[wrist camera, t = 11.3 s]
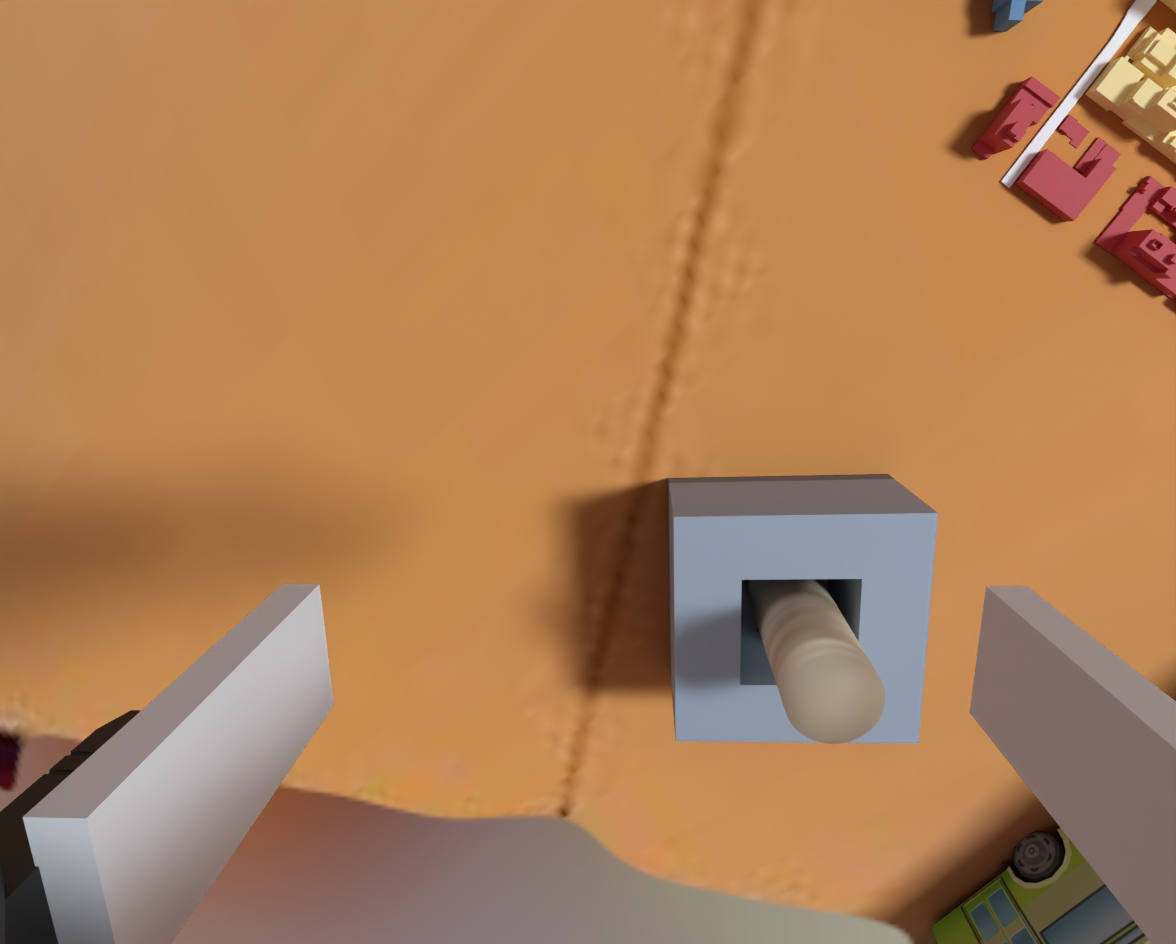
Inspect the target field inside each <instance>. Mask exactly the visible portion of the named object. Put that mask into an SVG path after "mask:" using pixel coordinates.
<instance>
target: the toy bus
mask: <svg viewBox="0 0 1176 944" xmlns="http://www.w3.org/2000/svg"><path fill="white" fill-rule="evenodd" d="M1057 831H1058V833H1059V834H1060V836H1061V837H1062V839H1063V842H1064V845H1062V844H1061V843H1060V842H1059V841H1058V840H1057V839H1055V838H1054V837H1053V836H1052V835H1051V834H1047V833H1043V832H1039V831H1035V832H1033V833H1032V834H1030V835H1028V836H1026V837H1025V838H1023V839H1022V840H1021V841H1020V842H1019V843H1018V845H1017V846H1016V847H1015V848H1014V862H1013V863H1014V864H1015V866H1016V868H1017V869H1018V871H1019V872H1020V874H1021V875H1022V876H1023V877H1024V878H1026V879H1027V880H1026V879H1024V878H1023V877H1022V876H1021V875H1020V874H1018V873H1017V872H1016V871H1015V870H1014V869H1013V868H1011V867H1010V866H1009V865H1007V864H1005V863H1001V864H1003V865H1004V866H1005V867H1006V868H1007V870H1005V871H1004V872H1003V873H1001V874H1000V875H999V876H998V877H996V878H995V879H994V880H992V881H991V882H990V883H988V884H987V885H986V886H984V887H983V888H982V889H980V890H979V891H978V892H977V893H975V894H974V895H973V896H971V897H970V898H969V899H967V900H966V901H965V902H963V903H962V904H961V905H959V906H958V907H957V908H956V909H954V910H953V911H952V912H950V913H949V914H948V915H946V916H945V917H944V918H942V919H941V920H940V921H938V922H937V923H936V924H935V925H933V926H932V927H931V928H932V930H933V933H934V936H935V939H936V941H937V944H1152V943H1151V942H1150V940H1149V939H1148V938H1147V937H1146V935H1145V934H1144V933H1143V932H1142V930H1141V929H1140V928H1139V927H1138V925H1137V924H1136V923H1135V921H1134V920H1133V919H1132V918H1131V916H1130V915H1129V914H1128V913H1127V911H1126V910H1125V909H1124V907H1123V906H1122V905H1121V904H1120V902H1119V901H1118V900H1117V899H1116V897H1115V896H1114V895H1113V894H1112V892H1111V891H1110V890H1109V888H1108V887H1107V886H1106V885H1105V883H1104V882H1103V881H1102V880H1101V878H1100V877H1099V876H1098V875H1097V873H1096V872H1095V871H1094V869H1093V868H1092V867H1091V866H1090V864H1089V863H1088V862H1087V861H1086V859H1085V858H1084V857H1083V856H1082V854H1081V853H1080V852H1079V850H1078V849H1077V848H1076V847H1075V845H1074V844H1073V843H1072V842H1071V840H1070V839H1069V838H1068V836H1067V835H1066V834H1065V833H1064V831H1063V830H1062V829H1061V828H1059V829H1057Z"/></svg>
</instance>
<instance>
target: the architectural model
mask: <svg viewBox="0 0 1176 944" xmlns="http://www.w3.org/2000/svg"><path fill="white" fill-rule="evenodd" d="M1042 1H1043V0H993V5H992V11H991V12H996V16H995V22H994V28H993V31H1008V30H1009V29H1011V28H1012V27H1013V26H1015V25H1016V24H1018V23H1019V22H1021V21H1022V20H1023V15H1024V13H1027V12H1028V11H1029V10H1031V9H1032V8H1034V7H1035V6H1037V5H1038V4H1040V3H1041V2H1042ZM1156 1H1157V0H1135V2H1134V3H1133V4H1132V6H1131V7H1130V8H1129V9H1128V11H1127V13H1126V15H1125V17H1124V19H1123V20H1122V22H1121V24H1120V26H1119V27H1118V29H1117V30H1116V32H1115V33H1114V35H1113V36H1112V38H1111V39H1110V41H1109V42H1108V44H1107V45H1106V46H1105V48H1104V49H1103V50H1102V51H1101V53H1100V54H1099V55H1098V57H1097V58H1096V59H1095V60H1094V62H1093V63H1092V64H1091V66H1090V67H1089V68H1088V69H1087V71H1086V72H1085V73H1084V75H1083V76H1082V77H1081V78H1080V80H1079V81H1078V82H1077V84H1076V85H1075V86H1074V87H1073V89H1072V90H1071V91H1070V93H1069V94H1068V95H1067V96H1066V98H1065V99H1064V100H1063V101H1062V103H1061V104H1060V105H1059V107H1058V108H1057V109H1056V110H1055V112H1054V113H1053V114H1052V115H1051V117H1050V118H1049V119H1048V121H1047V122H1046V123H1045V124H1044V126H1043V127H1042V128H1041V130H1040V131H1039V132H1038V133H1037V135H1036V136H1035V137H1034V139H1033V140H1032V141H1031V142H1030V144H1029V145H1028V146H1027V148H1026V149H1025V150H1024V152H1023V153H1022V154H1021V155H1020V157H1019V158H1018V159H1017V161H1016V162H1015V163H1014V165H1013V166H1012V167H1011V168H1010V170H1009V171H1008V172H1007V174H1006V175H1005V176H1004V178H1003V179H1002V180H1001V181H1000V182H1001V183H1003V184H1004V185H1005V186H1007V187H1008V188H1010V187H1011V185H1012V184H1013V183H1014V182H1015V180H1016V179H1017V178H1018V176H1019V175H1020V174H1021V173H1022V171H1023V170H1024V169H1025V168H1026V166H1027V165H1028V164H1029V163H1030V161H1031V160H1032V159H1033V158H1034V156H1035V155H1036V154H1037V153H1038V154H1037V155H1036V156H1035V158H1034V159H1033V160H1032V161H1031V163H1030V164H1029V165H1028V167H1027V168H1026V169H1025V171H1024V172H1023V173H1022V174H1021V176H1020V177H1019V178H1018V180H1017V181H1016V182H1015V183H1014V184H1016V185H1017V186H1018V187H1020V188H1021V189H1022V190H1024V191H1025V192H1026V193H1028V194H1029V195H1030V196H1032V197H1033V198H1034V199H1036V200H1037V201H1038V202H1040V203H1041V204H1042V205H1044V206H1045V207H1046V208H1048V209H1049V210H1050V211H1052V212H1053V213H1054V214H1056V215H1057V216H1058V217H1060V218H1061V219H1062V220H1064V221H1065V222H1067V221H1074V220H1075V219H1076V218H1077V217H1078V216H1079V214H1080V213H1081V212H1082V211H1083V209H1084V208H1085V207H1086V206H1087V204H1088V203H1089V202H1090V201H1091V199H1092V198H1093V197H1094V196H1095V194H1096V193H1097V192H1098V191H1099V189H1100V188H1101V187H1102V186H1103V185H1104V183H1105V182H1106V181H1107V180H1108V178H1109V177H1110V176H1111V175H1112V173H1113V172H1114V171H1115V170H1116V168H1115V167H1114V166H1112V165H1113V163H1114V162H1115V161H1116V160H1117V159H1118V157H1119V156H1120V155H1121V154H1120V153H1119V152H1117V151H1116V150H1115V149H1113V148H1112V147H1111V146H1110V145H1108V144H1106V142H1105V141H1103V140H1102V139H1101V138H1099V137H1098V138H1097V139H1096V140H1095V141H1094V143H1093V144H1092V145H1091V147H1090V148H1089V149H1088V150H1087V152H1086V153H1085V154H1084V155H1083V157H1082V158H1081V159H1080V161H1079V162H1078V163H1077V164H1076V166H1075V167H1074V168H1075V169H1077V170H1078V171H1079V172H1081V173H1082V174H1080V173H1078V172H1077V171H1076V170H1074V169H1073V168H1072V167H1070V166H1069V165H1068V164H1066V163H1065V162H1064V161H1062V160H1061V159H1060V158H1059V157H1057V156H1056V155H1055V154H1053V153H1052V152H1051V151H1049V150H1048V149H1047V150H1044V151H1041V152H1038V151H1039V150H1040V149H1041V147H1042V146H1043V145H1044V144H1045V142H1046V141H1047V140H1048V138H1049V137H1050V136H1051V135H1052V133H1053V132H1054V131H1055V129H1056V128H1057V127H1058V125H1059V124H1060V123H1061V122H1062V120H1063V119H1064V118H1065V116H1066V115H1067V114H1068V113H1069V111H1070V110H1071V109H1072V107H1073V106H1074V105H1075V104H1076V102H1077V101H1078V100H1079V98H1080V97H1081V96H1082V95H1083V93H1084V92H1085V91H1086V89H1087V88H1088V87H1089V86H1090V84H1091V83H1092V82H1093V80H1094V79H1095V78H1096V77H1097V75H1098V74H1099V73H1100V72H1101V70H1102V69H1103V68H1104V66H1105V65H1106V64H1107V63H1108V61H1109V60H1110V59H1111V57H1112V56H1113V55H1114V54H1115V52H1116V51H1117V50H1118V48H1119V47H1120V46H1121V45H1122V43H1123V42H1124V41H1125V39H1126V38H1127V37H1128V36H1129V34H1130V33H1131V32H1132V31H1133V29H1134V28H1135V27H1136V25H1137V24H1138V23H1139V22H1140V21H1141V20H1142V19H1143V18H1144V16H1145V15H1146V14H1147V13H1148V11H1149V10H1150V9H1151V8H1152V6H1153V5H1154V4H1155V3H1156ZM1160 1H1161V2H1163V3H1164V4H1165V5H1166V6H1168V7H1169V8H1170V9H1171V10H1173V11H1174V12H1175V13H1176V0H1160ZM1129 58H1130V59H1131V60H1132V61H1133V62H1132V63H1129V62H1128V60H1129ZM1141 78H1143V79H1144V80H1142V81H1140V79H1141ZM1085 95H1086V96H1088V97H1089V98H1090V99H1092V100H1093V101H1094V102H1096V103H1097V104H1098V105H1100V106H1101V107H1102V108H1104V109H1105V110H1106V111H1109V110H1111V111H1112V112H1114V113H1115V114H1116V115H1117V116H1119V117H1120V118H1121V119H1123V120H1124V121H1123V122H1122V124H1124V125H1125V126H1126V127H1128V128H1129V129H1130V130H1132V131H1133V132H1134V133H1136V134H1137V135H1138V136H1140V137H1141V138H1142V139H1144V140H1145V141H1146V142H1148V143H1149V144H1150V145H1151V146H1153V147H1154V148H1155V149H1157V150H1158V151H1159V152H1161V153H1162V154H1163V155H1164V156H1166V157H1167V158H1168V159H1169V160H1171V161H1172V162H1173V163H1175V164H1176V34H1175V33H1174V32H1173V31H1172V30H1170V29H1169V28H1166V29H1164V30H1162V31H1160V32H1157V31H1156V30H1154V29H1153V28H1152V27H1151V26H1150V27H1148V28H1146V29H1145V31H1144V32H1143V33H1142V35H1141V36H1140V37H1139V38H1138V40H1137V41H1136V42H1135V44H1134V45H1133V46H1132V47H1131V49H1130V50H1129V51H1128V53H1127V54H1126V56H1125V57H1119V58H1117V59H1115V60H1113V61H1111V62H1109V64H1108V65H1107V66H1106V68H1105V69H1104V70H1103V71H1102V73H1101V74H1100V75H1099V77H1098V78H1097V79H1096V80H1095V82H1094V83H1093V84H1092V86H1091V87H1090V88H1089V90H1088V91H1087V92H1086V93H1085ZM1059 99H1060V97H1059V96H1057V95H1056V94H1055V93H1053V92H1052V91H1051V90H1049V89H1048V88H1047V87H1045V86H1044V85H1043V84H1041V83H1040V82H1039V81H1037V80H1036V79H1035V78H1033V77H1030V78H1028V79H1026V80H1024V81H1023V82H1022V83H1021V85H1020V86H1019V87H1018V89H1017V90H1016V91H1015V93H1014V94H1013V95H1012V97H1011V98H1010V99H1009V101H1008V102H1007V103H1006V105H1005V106H1004V107H1003V109H1002V110H1001V111H1000V113H999V114H998V115H997V116H996V118H995V119H994V120H993V122H992V123H991V124H990V126H989V127H988V128H987V129H986V131H985V132H984V133H983V135H982V136H981V137H980V138H979V140H978V141H977V142H976V144H975V145H974V146H973V148H972V149H971V150H973V151H974V152H976V153H977V154H978V155H980V156H981V157H982V158H984V159H988V158H989V157H990V155H991V154H992V153H994V154H996V153H999V152H1001V151H1004V150H1007V149H1010V148H1013V146H1014V145H1015V144H1016V142H1019V141H1020V140H1021V138H1022V137H1023V136H1024V134H1025V133H1026V129H1027V128H1028V127H1029V126H1033V125H1035V124H1037V123H1038V122H1039V121H1040V119H1041V118H1042V117H1043V115H1044V114H1045V113H1046V111H1047V110H1048V109H1049V108H1051V107H1054V105H1055V104H1056V103H1057V101H1058V100H1059ZM1077 121H1078V120H1076V119H1075V118H1073V117H1072V116H1071V115H1068V116H1067V117H1066V118H1065V120H1064V121H1063V122H1062V124H1061V125H1060V126H1059V127H1058V130H1060V131H1061V132H1062V133H1064V134H1065V135H1066V136H1068V137H1069V138H1070V139H1072V140H1071V142H1070V144H1071V145H1072V146H1074V147H1075V148H1077V147H1078V146H1079V145H1080V143H1081V142H1082V141H1083V140H1084V138H1085V137H1086V136H1087V134H1088V133H1089V131H1088V130H1087V129H1085V128H1084V127H1083V126H1082V125H1080V124H1079V123H1078V122H1077ZM1147 209H1150V210H1151V211H1152V212H1153V213H1155V214H1156V215H1157V216H1159V217H1160V218H1161V219H1163V220H1164V221H1165V222H1167V223H1168V224H1169V225H1171V226H1172V227H1173V228H1175V229H1176V189H1175V188H1174V187H1172V186H1171V187H1164V186H1163V185H1161V184H1160V183H1159V182H1157V181H1156V180H1155V179H1154V178H1153V177H1151V176H1147V178H1146V179H1145V180H1144V181H1143V182H1142V184H1141V185H1140V186H1139V187H1138V188H1137V190H1136V191H1135V192H1134V193H1133V194H1132V196H1131V197H1130V198H1129V199H1128V200H1127V202H1126V203H1125V204H1124V205H1123V206H1122V208H1121V211H1120V212H1119V213H1118V215H1117V216H1116V217H1115V218H1114V219H1113V221H1112V222H1111V223H1110V224H1109V226H1108V227H1107V228H1106V229H1105V230H1104V232H1103V233H1102V234H1101V235H1100V236H1099V238H1098V239H1097V240H1096V241H1095V243H1096V244H1097V245H1099V246H1100V247H1101V248H1103V249H1104V250H1105V251H1107V252H1108V253H1111V254H1113V255H1114V256H1115V257H1117V258H1118V259H1119V260H1121V261H1122V262H1123V263H1124V264H1126V265H1127V266H1128V267H1130V268H1131V269H1132V270H1134V271H1135V272H1136V273H1138V274H1139V275H1140V276H1141V277H1143V278H1144V279H1145V280H1146V281H1148V282H1149V283H1150V284H1152V285H1153V286H1154V287H1156V288H1157V289H1158V290H1160V291H1161V292H1162V293H1164V294H1165V295H1166V296H1168V297H1169V298H1170V299H1172V300H1174V299H1175V298H1176V244H1174V243H1173V242H1172V241H1171V240H1169V239H1168V238H1167V237H1165V236H1164V235H1163V234H1159V233H1157V232H1156V231H1155V230H1143V231H1133V232H1128V231H1129V230H1130V229H1131V228H1132V226H1133V225H1134V224H1135V223H1136V222H1137V220H1138V219H1139V218H1140V217H1141V216H1142V215H1143V213H1144V212H1145V211H1146V210H1147ZM1173 302H1175V303H1176V299H1175V300H1174V301H1173Z"/></svg>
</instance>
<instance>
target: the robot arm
mask: <svg viewBox="0 0 1176 944" xmlns="http://www.w3.org/2000/svg"><path fill="white" fill-rule="evenodd" d="M333 706H334V701H333V693H332V684H331V676H330V668H329V660H328V651H327V643H326V635H325V627H324V619H323V610H322V602H321V594H320V586H319V584H282V585H281V586H280V587H279V588H277V589H276V590H275V591H274V592H273V593H272V594H271V595H270V596H269V597H267V598H266V599H265V600H264V601H263V602H262V603H261V604H260V605H259V606H257V607H256V608H255V609H254V610H253V611H252V612H251V613H250V614H248V615H247V616H246V617H245V618H244V619H243V620H242V621H241V622H240V623H238V624H237V625H236V626H235V627H234V628H233V629H232V630H231V631H230V632H228V633H227V634H226V635H225V636H224V637H223V638H222V639H221V640H219V641H218V642H217V643H216V644H215V645H214V646H213V647H212V648H211V649H209V650H208V651H207V652H206V653H205V654H204V655H203V656H202V657H201V658H199V659H198V660H197V661H196V662H195V663H194V664H193V665H192V666H190V667H189V668H188V669H187V670H186V671H185V672H184V673H183V674H182V675H180V676H179V677H178V678H177V679H176V680H175V681H174V682H173V683H172V684H170V685H169V686H168V687H167V688H166V689H165V690H164V691H163V692H161V693H160V694H159V695H158V696H157V697H156V698H155V699H154V700H153V701H151V702H150V703H149V704H148V705H147V706H146V707H145V708H144V709H143V710H141V711H138V710H131V711H129V712H127V713H126V714H124V715H122V716H120V717H118V718H116V719H115V720H113V721H111V722H109V723H107V724H105V725H104V726H102V727H100V728H98V729H97V730H95V731H94V732H93V733H92V734H91V735H90V736H88V737H87V738H86V739H85V740H84V741H82V742H81V743H80V744H79V745H78V746H77V747H76V748H74V749H73V750H72V751H71V755H70V756H65V757H64V758H63V759H62V760H60V761H59V762H58V763H57V764H56V765H54V766H53V767H52V768H51V769H50V772H49V774H44V775H43V776H42V777H41V778H39V779H38V780H37V781H36V782H35V783H34V784H32V785H31V786H30V787H29V788H28V789H26V790H25V791H24V792H23V793H22V794H21V795H19V796H18V797H17V798H16V799H15V800H14V801H13V802H11V803H10V804H9V805H8V806H7V807H5V808H4V809H3V810H2V811H1V812H0V944H172V942H173V941H174V939H175V937H176V936H177V935H178V933H179V932H180V930H181V929H182V927H183V926H184V925H185V923H186V922H187V920H188V919H189V917H190V916H191V914H192V913H193V911H194V910H195V908H196V907H197V905H198V904H199V902H200V901H201V899H202V898H203V897H204V895H205V894H206V892H207V891H208V889H209V888H210V886H211V885H212V883H213V882H214V880H215V879H216V878H217V876H218V874H219V873H220V872H221V870H222V869H223V867H224V866H225V864H226V863H227V861H228V860H229V858H230V857H231V855H232V854H233V852H234V851H235V850H236V848H237V847H238V845H239V843H240V842H241V841H242V839H243V838H244V836H245V835H246V833H247V832H248V830H249V829H250V828H251V826H252V824H253V823H254V822H255V820H256V819H257V817H258V816H259V814H260V813H261V811H262V810H263V808H264V807H265V806H266V804H267V803H268V801H269V800H270V798H271V797H272V795H273V794H274V792H275V791H276V789H277V788H278V786H279V785H280V783H281V782H282V781H283V779H284V778H285V776H286V775H287V773H288V772H289V770H290V769H291V767H292V766H293V764H294V763H295V761H296V760H297V758H298V757H299V756H300V754H301V753H302V751H303V750H304V748H305V747H306V745H307V744H308V742H309V741H310V739H311V738H312V736H313V735H314V734H315V732H316V731H317V729H318V728H319V726H320V725H321V723H322V722H323V720H324V719H325V717H326V716H327V714H328V713H329V711H330V710H331V709H332V707H333ZM970 713H971V715H972V716H973V717H974V719H975V720H976V721H977V722H978V724H979V725H980V726H981V727H982V729H983V730H984V731H985V733H986V734H987V735H988V736H989V738H990V739H991V740H992V741H993V743H994V744H995V745H996V746H997V748H998V749H999V750H1000V752H1001V753H1002V754H1003V755H1004V757H1005V758H1006V759H1007V760H1008V762H1009V763H1010V764H1011V765H1012V767H1013V768H1014V769H1015V771H1016V772H1017V773H1018V774H1019V776H1020V777H1021V778H1022V779H1023V781H1024V782H1025V783H1026V784H1027V786H1028V787H1029V788H1030V790H1031V791H1032V792H1033V793H1034V795H1035V796H1036V797H1037V798H1038V800H1039V801H1040V802H1041V804H1042V805H1043V806H1044V807H1045V809H1046V810H1047V811H1048V812H1049V814H1050V815H1051V816H1052V817H1053V819H1054V820H1055V821H1056V823H1057V824H1058V825H1059V826H1060V828H1061V829H1062V830H1063V831H1064V833H1065V834H1066V835H1067V836H1068V838H1069V839H1070V840H1071V842H1072V843H1073V844H1074V845H1075V847H1076V848H1077V849H1078V850H1079V852H1080V853H1081V854H1082V856H1083V857H1084V858H1085V859H1086V861H1087V862H1088V863H1089V864H1090V866H1091V867H1092V868H1093V869H1094V871H1095V872H1096V873H1097V875H1098V876H1099V877H1100V878H1101V880H1102V881H1103V882H1104V883H1105V885H1106V886H1107V887H1108V888H1109V890H1110V891H1111V892H1112V894H1113V895H1114V896H1115V897H1116V899H1117V900H1118V901H1119V902H1120V904H1121V905H1122V906H1123V907H1124V909H1125V910H1126V911H1127V913H1128V914H1129V915H1130V916H1131V918H1132V919H1133V920H1134V921H1135V923H1136V924H1137V925H1138V927H1139V928H1140V929H1141V930H1142V932H1143V933H1144V934H1145V935H1146V937H1147V938H1148V939H1149V940H1150V942H1151V943H1152V944H1176V701H1175V700H1173V699H1172V698H1171V697H1170V696H1168V695H1167V694H1166V693H1164V692H1163V691H1162V690H1161V689H1159V688H1158V687H1157V686H1155V685H1154V684H1153V683H1151V682H1150V681H1149V680H1148V679H1146V678H1145V677H1144V676H1142V675H1141V674H1140V673H1139V672H1137V671H1136V670H1135V669H1133V668H1132V667H1131V666H1129V665H1128V664H1127V663H1126V662H1124V661H1123V660H1122V659H1120V658H1119V657H1118V656H1117V655H1115V654H1114V653H1113V652H1111V651H1110V650H1109V649H1107V648H1106V647H1105V646H1104V645H1102V644H1101V643H1100V642H1098V641H1097V640H1096V639H1095V638H1093V637H1092V636H1091V635H1089V634H1088V633H1087V632H1085V631H1084V630H1083V629H1082V628H1080V627H1079V626H1078V625H1076V624H1075V623H1074V622H1072V621H1071V620H1070V619H1069V618H1067V617H1066V616H1065V615H1063V614H1062V613H1061V612H1060V611H1058V610H1057V609H1056V608H1054V607H1053V606H1052V605H1050V604H1049V603H1048V602H1047V601H1045V600H1044V599H1043V598H1041V597H1040V596H1039V595H1038V594H1036V593H1035V592H1034V591H1032V590H1031V589H1030V588H1028V587H1027V586H986V592H985V599H984V607H983V614H982V622H981V630H980V637H979V645H978V653H977V660H976V668H975V676H974V683H973V691H972V699H971V706H970Z"/></svg>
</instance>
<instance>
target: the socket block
mask: <svg viewBox="0 0 1176 944" xmlns="http://www.w3.org/2000/svg"><path fill="white" fill-rule="evenodd" d="M668 504H669V593H670V672H671V686H672V699H673V712H674V726H675V739H676V741H714V742H817V741H814V740H812V739H809V738H807V737H806V736H804V735H802V734H801V733H800V732H799V731H797V730H796V729H795V728H794V727H793V725H792V724H791V722H790V721H789V719H788V717H787V715H786V712H785V709H784V706H783V703H782V700H781V697H780V694H779V690H778V687H777V684H776V681H775V678H774V675H773V672H772V669H771V666H770V663H769V660H768V657H767V654H766V651H765V648H764V645H763V642H762V638H761V635H760V632H759V629H758V626H757V623H756V620H755V617H754V614H753V611H752V608H751V605H750V602H749V599H748V596H747V593H746V587H745V582H746V580H788V579H821V580H822V582H823V583H824V585H825V587H826V588H827V590H828V592H829V593H830V595H831V597H832V598H833V600H834V602H835V603H836V605H837V607H838V608H839V610H840V612H841V613H842V615H843V617H844V618H845V620H846V622H847V624H848V625H849V627H850V629H851V630H852V632H853V634H854V635H855V637H856V639H857V640H858V642H859V644H860V645H861V647H862V649H863V650H864V652H865V654H866V655H867V657H868V659H869V660H870V662H871V664H872V665H873V667H874V669H875V670H876V672H877V674H878V675H879V677H880V679H881V681H882V683H883V686H884V689H885V707H884V710H883V713H882V715H881V717H880V719H879V720H878V722H877V723H876V725H875V726H874V727H873V728H872V729H871V730H870V731H868V732H867V733H866V734H864V735H863V736H861V737H859V738H857V739H855V740H852V741H849V742H845V743H919V732H920V720H921V708H922V696H923V684H924V672H925V661H926V649H927V637H928V625H929V613H930V601H931V589H932V578H933V566H934V554H935V542H936V530H937V518H938V513H937V512H936V511H935V510H933V509H932V508H931V507H930V506H928V505H927V504H926V503H924V502H923V501H922V500H921V499H919V498H918V497H917V496H915V495H914V494H913V493H912V492H910V491H909V490H908V489H906V488H905V487H904V486H903V485H901V484H900V483H899V482H897V481H896V480H895V479H894V478H892V477H891V476H890V475H888V474H871V475H817V476H764V477H710V478H668Z"/></svg>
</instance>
